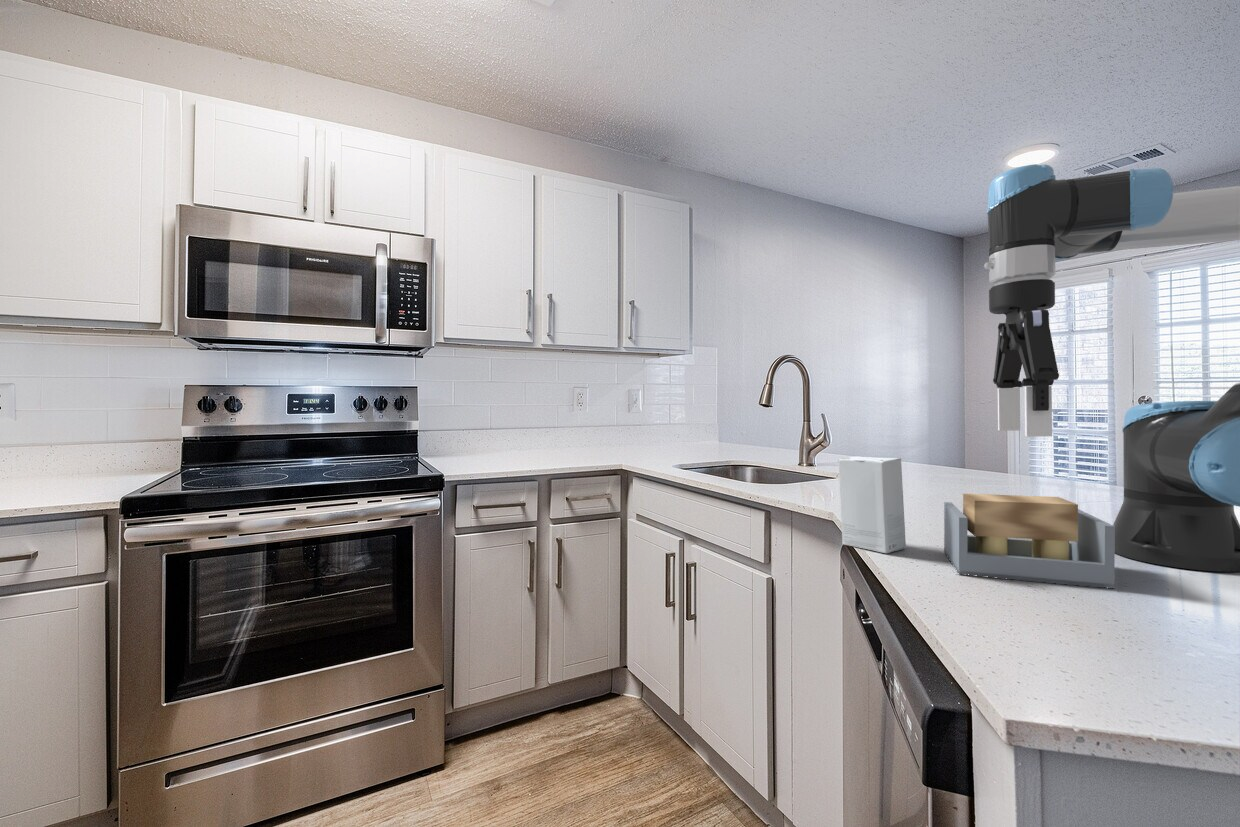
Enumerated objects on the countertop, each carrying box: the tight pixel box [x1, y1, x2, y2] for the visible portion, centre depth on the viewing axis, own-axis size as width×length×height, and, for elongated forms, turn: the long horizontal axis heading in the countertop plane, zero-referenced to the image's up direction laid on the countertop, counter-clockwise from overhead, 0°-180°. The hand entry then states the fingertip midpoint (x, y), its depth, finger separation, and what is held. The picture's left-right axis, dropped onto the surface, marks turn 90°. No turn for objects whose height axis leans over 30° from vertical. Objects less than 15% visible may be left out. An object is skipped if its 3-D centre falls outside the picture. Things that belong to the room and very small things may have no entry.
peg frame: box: [943, 501, 1116, 589], centre depth 78 cm, size 17×12×8 cm
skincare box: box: [838, 455, 907, 554], centre depth 91 cm, size 8×6×15 cm
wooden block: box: [962, 493, 1079, 542], centre depth 78 cm, size 12×6×5 cm, turn 71°
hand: (1022, 433), depth 78 cm, fingers open, 13 cm apart
